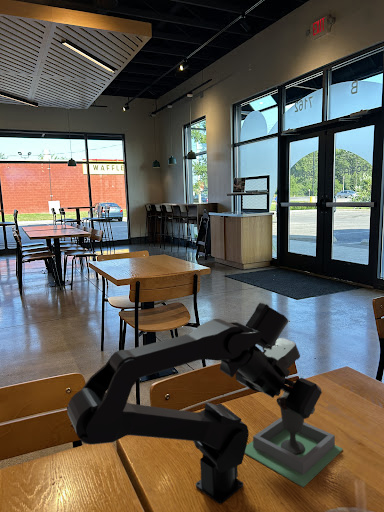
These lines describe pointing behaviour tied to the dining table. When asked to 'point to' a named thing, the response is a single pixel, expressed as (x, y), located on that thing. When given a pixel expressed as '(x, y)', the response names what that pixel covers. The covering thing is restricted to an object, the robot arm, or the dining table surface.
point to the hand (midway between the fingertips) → (295, 402)
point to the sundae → (291, 426)
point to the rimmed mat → (286, 463)
